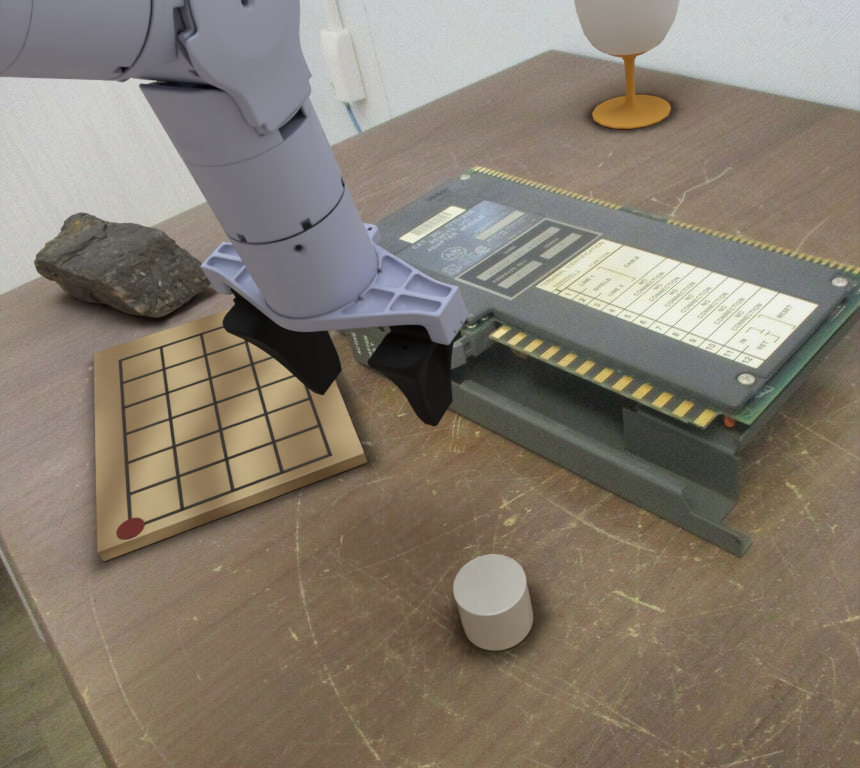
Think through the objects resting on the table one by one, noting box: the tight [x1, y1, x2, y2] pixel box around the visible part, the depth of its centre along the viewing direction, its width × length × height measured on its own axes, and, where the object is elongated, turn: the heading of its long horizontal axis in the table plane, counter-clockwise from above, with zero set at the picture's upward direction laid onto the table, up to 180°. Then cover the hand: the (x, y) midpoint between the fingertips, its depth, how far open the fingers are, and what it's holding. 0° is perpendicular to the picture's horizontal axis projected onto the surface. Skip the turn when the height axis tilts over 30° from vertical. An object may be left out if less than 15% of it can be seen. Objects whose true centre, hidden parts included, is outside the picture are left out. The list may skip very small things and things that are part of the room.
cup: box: [573, 0, 680, 130], centre depth 91 cm, size 12×12×17 cm
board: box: [93, 308, 368, 562], centre depth 65 cm, size 18×24×1 cm
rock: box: [33, 211, 212, 318], centre depth 78 cm, size 17×7×10 cm
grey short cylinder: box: [452, 553, 534, 652], centre depth 46 cm, size 4×4×3 cm
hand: (382, 396), depth 47 cm, fingers open, 7 cm apart
